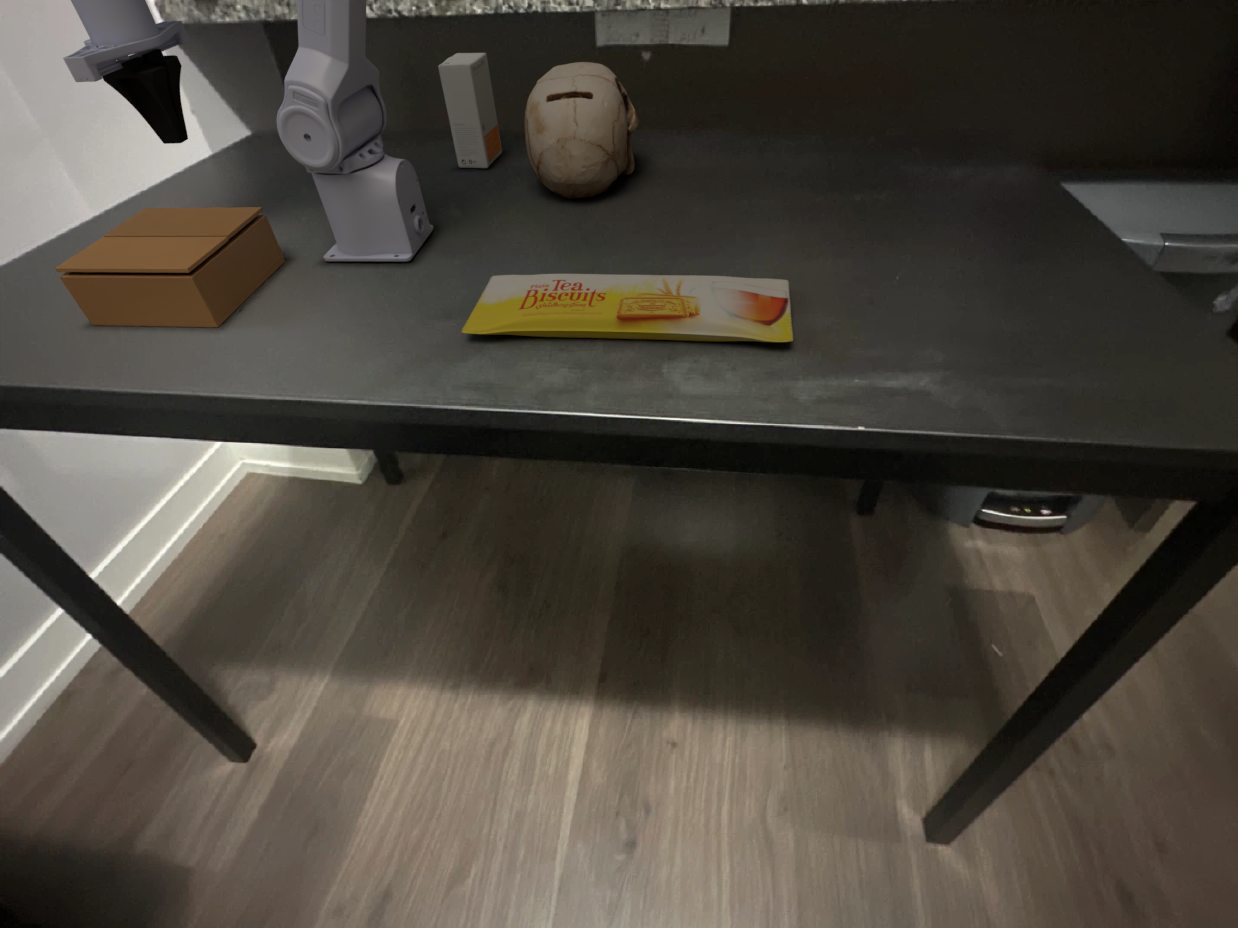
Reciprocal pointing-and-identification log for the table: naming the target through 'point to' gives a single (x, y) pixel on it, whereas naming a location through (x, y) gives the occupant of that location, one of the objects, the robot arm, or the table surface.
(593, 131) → the coin bank
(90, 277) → the carton
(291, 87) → the robot arm
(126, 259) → the flap
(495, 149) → the cosmetic box
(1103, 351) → the table surface
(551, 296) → the food package
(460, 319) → the table surface
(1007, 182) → the table surface
